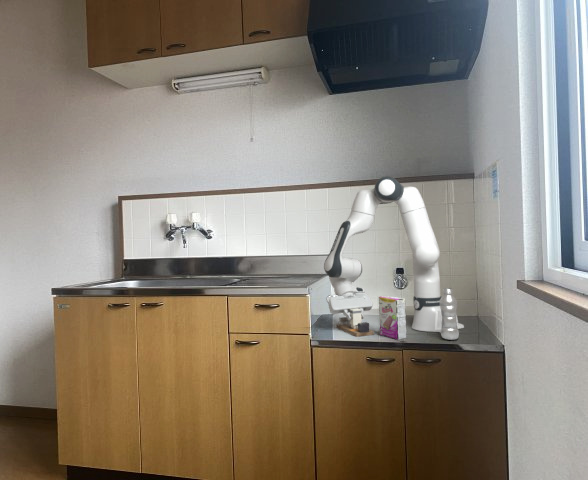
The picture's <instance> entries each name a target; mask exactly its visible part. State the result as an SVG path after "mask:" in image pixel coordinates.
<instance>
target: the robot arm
mask: <svg viewBox="0 0 588 480" xmlns="http://www.w3.org/2000/svg"><path fill="white" fill-rule="evenodd" d="M393 202H394V203H395V204H396V205H397V207H398V208H399V212H400V216H401V219H402V223H403V226H404V230H405V233H406V237H407V238H408V239H407V240H408V242H409V246H410V249H411V253H412V268H413V269H412V270H413V271H412V273H413V293H414V295H413V300H412V301H413V308H414V311H413V320H412V325H411V329H413V330H415V331H421V332H435V333H441V327H442V315H441V308H440V299H441V297H442V296H441V281H440V280H441V277H440V276H441V275H440V269H439V267H440V266H439V260H440V258H441V257H440V256H441V251H440V247H439V243H438V242H437V238H436V235H435V233H434V229H433V227H432V224H431V221H430V218H429V214H428V211H427V208H426V204H425V202H424V199H423V197H422V195H421V192H420V191H419V189H418V188H417V187H415V186H405V187H404V186H403V185H402V183H400V181H398V180H397V179H396V178H395V177H392V176H388V175H387V176H386V175H385V176H382V177H379V179H377V181H376V182H375V184H374V188H372V189H369V188H364V189H363V188H362V189H360V190H358V192H357V193H356V195H355V198H354V200H353V203H352V206H351V210H350V212H349V216H348V217H347V218H346V220H345V221H343V222H342V223H341V225H340V226H339V229H338V231H337V234H336V236H335V238H334V242H333V244H332V247H331V249H330V251H329V253H328V254H327V257H326V258H325V261H324V262H323V270H324V272H325V274H326V275H327V276H328V278H329V283H330V285H331V286H332V287H333V289H334V290H333V291H334V294H332V295H331V294H330V295H328V296H327V297H326V298H325V301H326V302H327V304H328V308H329V312H330V314H332V315H339V314H343V316H345V317H347V318H348V320H352V319H353V317H352V315H350V309H356V308H358V309H361V320H364V319H365V316H364V312H367V311H368V312H370V311H371V309H372V308H373V305H374V303H373V302H372V299H371V298H370V296H369V294H367V293H366V289H365V288H363V287H359V286H355V285H353V283H354V282H355V281H356V280H358V278H360V277H361V276H362V274H363V265H362V263H361V261H360V260H359V259H357V258H352V257H345V256H343V253H344V251H345V248H346V245H347V243H348V242H349V239H350V238H352V237H353V236H356V235H358V234H363V233H366V232H367V231H369V230H370V229H371V228H372V226H373V224H374V220H375V216H376V213H377V208H378V206H379V205H385V204H392V203H393ZM456 320H457V328H458V330H459V329H464V328H465V325H464V324H462V323H459V320H458V315H457V314H456Z"/></svg>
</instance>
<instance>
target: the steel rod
mask: <svg viewBox="0 0 588 480" xmlns="http://www.w3.org/2000/svg"><path fill="white" fill-rule="evenodd" d="M344 325H347V326H349V327H351V324H350V322H349V321H344ZM355 329H357V330H358V332H360V333H363V332H369V330H370V323H369V322H367V321H366V322H365V321H364V322H362V323H358V325H355Z"/></svg>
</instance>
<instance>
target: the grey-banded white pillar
mask: <svg viewBox="0 0 588 480" xmlns="http://www.w3.org/2000/svg"><path fill="white" fill-rule="evenodd" d="M349 315H352V317H353V319H352V320H350V324H351V328H354V329H355V325H358V323H363V322H362V319H361V309H358V308H356V309H350V313H349Z"/></svg>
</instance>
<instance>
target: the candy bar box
mask: <svg viewBox="0 0 588 480" xmlns="http://www.w3.org/2000/svg"><path fill="white" fill-rule="evenodd" d="M378 311H379V312H378V314H379V315H378V316H379V317H378V318H379V319H378V320H379V335H380V336H383V337H387V338H390V339H394V340H397V341H401V340H405V339H407V338H408V337H407V316H406V315H407V313H406V312H407V311H406V298H403V297H397V296H392V295H382V296H378Z"/></svg>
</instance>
